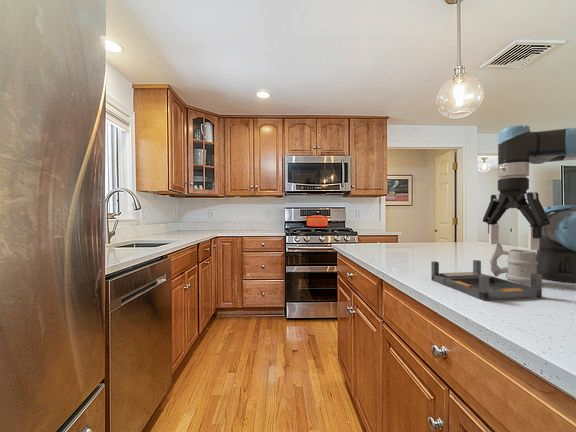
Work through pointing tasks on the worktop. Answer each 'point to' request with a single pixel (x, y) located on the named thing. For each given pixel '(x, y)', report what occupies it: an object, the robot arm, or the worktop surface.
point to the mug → (515, 265)
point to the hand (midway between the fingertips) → (512, 246)
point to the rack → (487, 284)
